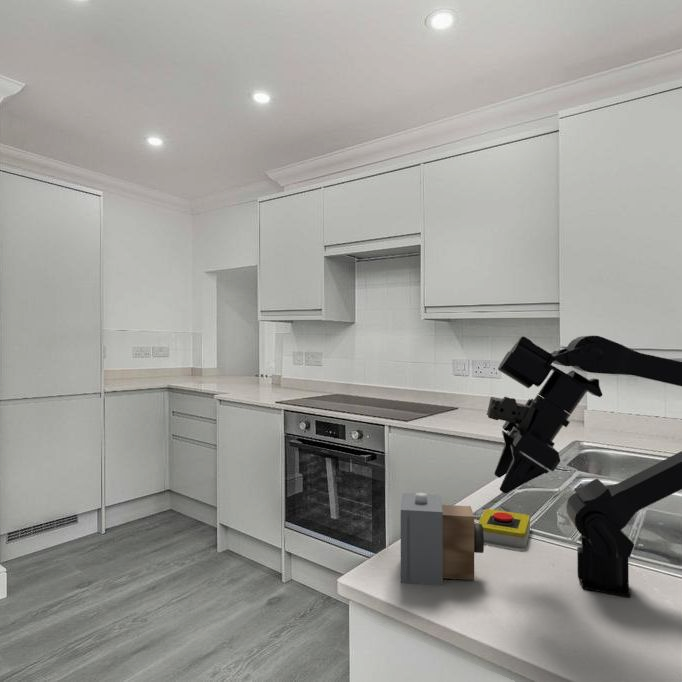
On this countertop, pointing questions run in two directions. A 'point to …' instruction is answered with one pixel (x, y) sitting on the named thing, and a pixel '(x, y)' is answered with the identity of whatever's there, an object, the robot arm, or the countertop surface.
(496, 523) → the emergency button
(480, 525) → the plunger
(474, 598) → the countertop surface
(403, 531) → the housing
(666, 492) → the robot arm
